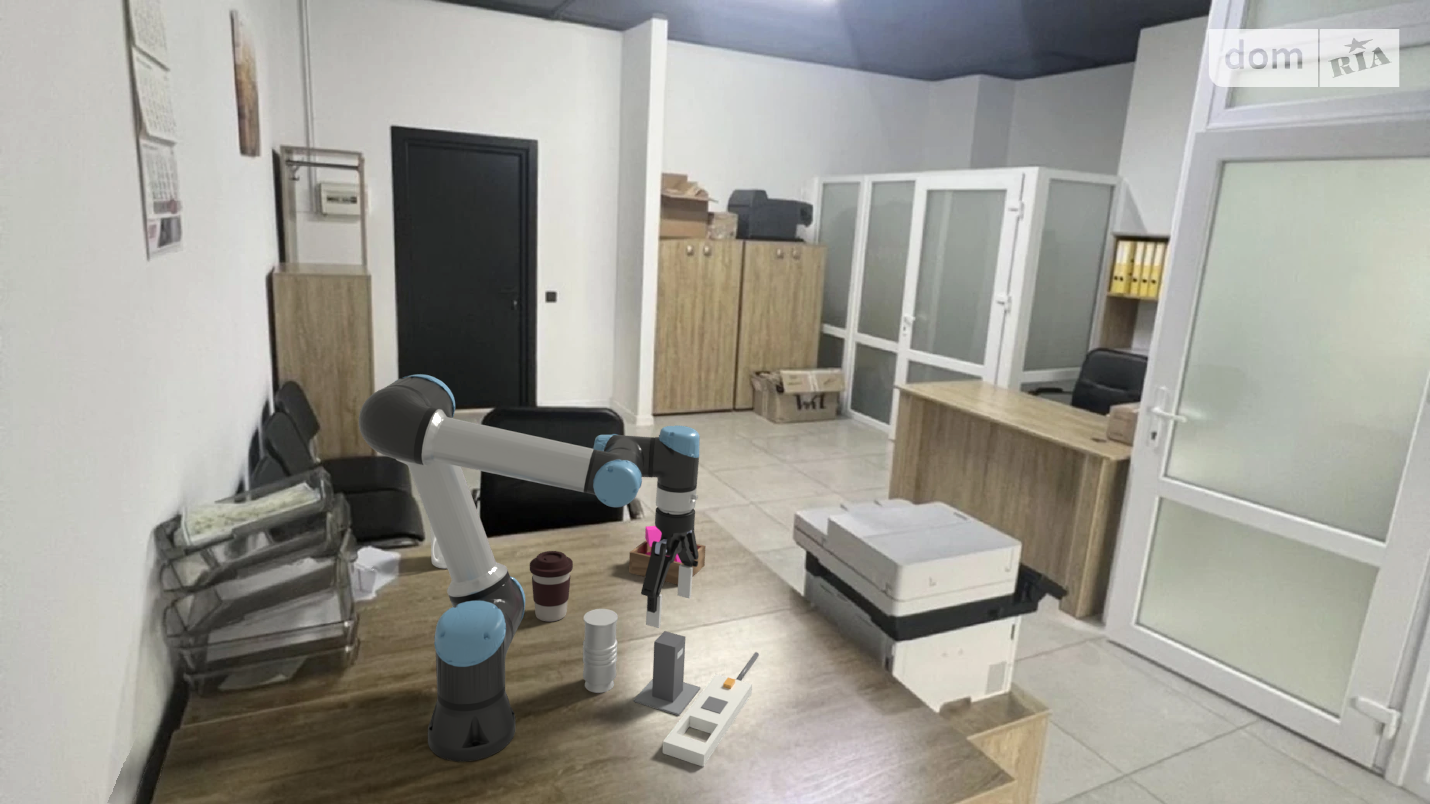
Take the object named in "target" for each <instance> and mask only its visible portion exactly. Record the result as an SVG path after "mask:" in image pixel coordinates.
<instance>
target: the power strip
mask: <svg viewBox="0 0 1430 804" xmlns="http://www.w3.org/2000/svg"><path fill="white" fill-rule="evenodd" d="M759 656H760V654H759V652H757V651H755V652H754V653H753V655H752V656H751V657H750V659H749V660H748V661H747V663H746V665H745V666H744V667H743V668H742V670H741V671H740V673H739V674H738V675H737V677H736V678H733V677H729V676H726V675H723V674H720V673H719V674H718V673H715V674H714V675H713V676H712V678H711V679H710V680H709V682H708V683H707V684H706V686H705V687H704V688H703V690H702V691H700V693H699V694H698V695H697V697H696V698H695V700H694V701H693V702H692V704H691V705H690V706H689V708H688V709H686V711H685V712H684V714H683V715H682V717H681V718H680V719H679V720H678V721H677V723H676V724H675V725H674V727H672V729H671V731H670V732H669V733H668V735H667V736H666V737H665V738H664V739H663V741H662V754H664V755H666V756H667V755H668V756H670V757H672V758H674V759H675V758H676V759H679V760H682V761H685V762H687V763H691V764H693V765H697V766H699V767H701V768H702V767H703V768H704V767H705V765H706V764H707V762H708V761H709V759H710V758H711V756H712V755H713V753H714V752H715V751H716V749H717V748H718V746H719V744H721V741H722V740H723V738H724V737H725V736H726V734H727V732H728V731H729V729H730V728H731V727H732V725H733V723H734V722H735V720H736V719H737V717H738V716H739V714H740V713H741V711H742V710H741V709H743V708H744V706H745V705H746V704H747V701H748V700H749V698H750V697H751V696H752V691H753V683H750V682H747V681H743V680H742V679H743V678H744V677H745V675H746V674H747V672H748V671H749V670H750V668H751V667H752V665H754V662H756V660H757V659H758V657H759ZM739 712H740V713H739ZM737 715H738V716H737ZM689 728H692V729H695V730H699V731H702V732H705V733H708V734H710V735H709V737H708V739H706V741H705V742H704V741H702V740H699V739H696V738H692V737H689V736H687V735H684V734H685V733H686V732H687V730H688V729H689Z"/></svg>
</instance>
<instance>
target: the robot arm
mask: <svg viewBox="0 0 1430 804" xmlns="http://www.w3.org/2000/svg"><path fill="white" fill-rule="evenodd" d="M455 411H456V401H455V397H454V394H453V392H452V390H451V389H450V388H449V387H448V385H446V384H445V383H444V382H443V381H442V380H440V379H438V378H436V377H435V376H431V375H428V374H423V373H422V374H421V373H420V374H418V373H417V374H411V375H407V376H404V377H402V378H398V379H396V380H395V381H394V382H392V383H390V384H389V385H387V386H385V387H384V388H381V389H378V390H376V391H375V392H374V393H372V394H371V395H369V396H368V398H367V399H366V400H365V401H364V403H362V407H361V408H360V410H359V414H358V415H359V416H358V428H359V432H360V434H361V436H362V438H363V440H364V441H365V442H366V444H367V445H368V446H369V448H371V449H372V450H374V451H375V452H376V453H379V454H381V455H383V456H386V457H388V458H391V459H395V460H396V461H397V462H400V463H403V464H404V465H406V466H407V467H408V469H409V472H410V474H411V477H412V479H413V482H414V485H415V488H416V489H417V493H418V494H419V498H420V500H421V503H422V506H423V509H424V511H425V513H426V516H427V519H428V521H429V525H430V524H431V527H432V529H433V532H434V535H435V537H436V540H437V542H438V545H439V548H440V550H441V553H442V555H443V558H444V561H445V563H446V566H447V568H448V569H447V571H448V573H449V576H450V579H451V581H450V583H449V585H448V588H447V589H446V592H447V595H448V597H449V601H450V603H451V606H452V607H450V608H448V609H447V610H446V611H444V612H443V614H442V615H441V616H440V617H439V618H438V621H437V623H436V625H435V626H436V627H435V633H434V638H433V639H434V649H435V670H436V671H435V672H436V694H437V695H436V697H437V698H436V702H435V705H434V708H433V712H432V714H431V718H430V721H429V722H428V727H427V744H428V748H429V749H430V751H432V752H433V754H435V755H436V756H437V757H439V758H441V759H444V760H447V761H452V762H473V761H478V760H482V759H485V758H489V757H491V756H493V755H495V754H496V753H499V752H500V751H502V750H503V749H504V748H505V747H507V746H509V744H510V743H511V741H512V740H513V738H514V737H515V734H516V726H517V725H516V714H515V712H514V710H513V708H512V706H511V702H510V699H509V697H508V694H507V691H506V657H507V653H508V651H509V648H510V646H511V643H512V641H513V639H514V638H515V636H516V635H515V634H516V632H517V630H518V628H519V626H520V625H521V622H522V620H523V618H524V614H525V609H526V595H525V591H524V588H523V587H522V585H521V583H520V582H519V581H518V580H517V579H516V578H515V577H513V576H510V573H509V569H508V567H507V566H506V565H505V564H502V563H500V562H497V561H496V559H495V556H494V553H493V550H492V547H491V544H490V542H489V539H488V536H487V534H486V531H485V528H484V525H483V522H482V519H481V518H480V515H479V512H478V510H477V506H476V504H475V500H474V499H473V496H472V493H471V491H470V490H471V489H470V487H469V484H468V482H467V480H466V477H465V474H464V471H463V468H466V469H470V470H476V471H479V472H480V471H481V472H485V473H490V474H495V475H500V476H504V477H508V478H513V479H518V480H523V481H527V482H533V483H538V484H541V485H547V486H552V487H556V488H562V489H565V490H572V491H576V492H581V493H583V494H585V493H586V494H591V495H594V496H596V498H597V499H598V500H599V501H600V502H601V503H602V504H604V505H606V506H608V507H611V508H622V507H625V506H627V505H629V504H630V503H631V502H633V501H634V500H635V498H637V495H638V493H639V489H640V488H641V487H642V482H643V479H642V478H657V479H656V480H657V481H656V497H655V506H656V508H655V515H654V516H655V517H654V526H656V528H657V529H659V530H660V531H661V533H662V534H661V538H660V541H659V542H656V541H653V543H652V549H651V556H650V559H649V563H648V567H647V571H646V575H645V577H644V578H643V579H644V580H643V583H642V587H641V592H640V594H641V596H645V597H647V598H646V611H645V612H646V613H645V616H646V617H645V625H646V626H650V627H653V628H655V629H656V628H657V629H660V628H661V624H662V623H661V622H662V609H663V608H662V605H663V594H661V592H662V589H663V586H664V584H665V582H664V581H665V578H666V575H667V572H668V569H669V567H670V564H671V563H673V562H674V560H675V557H676V555H677V554H678V556H679V558H680V560H681V562H682V564H684V565H680V566H679V577H678V585H677V596H679V597H682V598H686V599H691V598H692V586H693V577H692V574H693V567H692V566H694V567H697V566H698V561H695V560H697V559H698V557H699V554H698V549H697V544H698V543H697V539H696V533H695V523H696V522H695V520H696V510H695V508H696V503H697V502H696V501H697V500H698V499H699V495H697V488H698V487H697V486H698V476H699V463H700V437H701V436H700V433H699V432H698V431H697V430H696V429H694V428H692V427H690V426H685V425H666V426H663V427H662V428H661V429H660V430H659V434H658V436H655V437H654V436H653V437H652V436H637V435H626V434H625V435H623V434H622V435H621V434H617V433H612V434H600V435H597V436H596V437H595V440H594V445H593V447H592V448H591V447H586V446H582V445H577V444H572V443H568V442H564V441H563V442H562V441H558V440H555V439H549V438H547V437H546V438H545V437H541V436H535V435H531V434H526V433H521V432H519V431H518V432H517V431H512V430H507V429H503V428H499V427H495V426H489V425H485V424H480V423H475V422H472V421H466V420H462V419H458V418H454V415H455ZM692 552H693V553H692ZM665 555H666V556H665ZM669 556H670V557H669Z"/></svg>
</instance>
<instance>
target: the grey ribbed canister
mask: <svg viewBox="0 0 1430 804" xmlns="http://www.w3.org/2000/svg"><path fill="white" fill-rule="evenodd" d="M618 620H619V616H618V614H617V612H615V611H614V610H612V609H607V608H596V609H592V610H589V611H587V612H586V613H584V615H583V622H584V639H583V641H582V664H583V670H582V678H583V680H584V681H585V683H584V688H585V689H586V690H588V691H589V692H592V693H597V694H599V693H600V694H601V693H607V692H608V691H610V690H611V689H613V687H614V685H615V682H614V680H615V679H616V678H617V665H616V664H617V661H618V640H617V622H618Z"/></svg>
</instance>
